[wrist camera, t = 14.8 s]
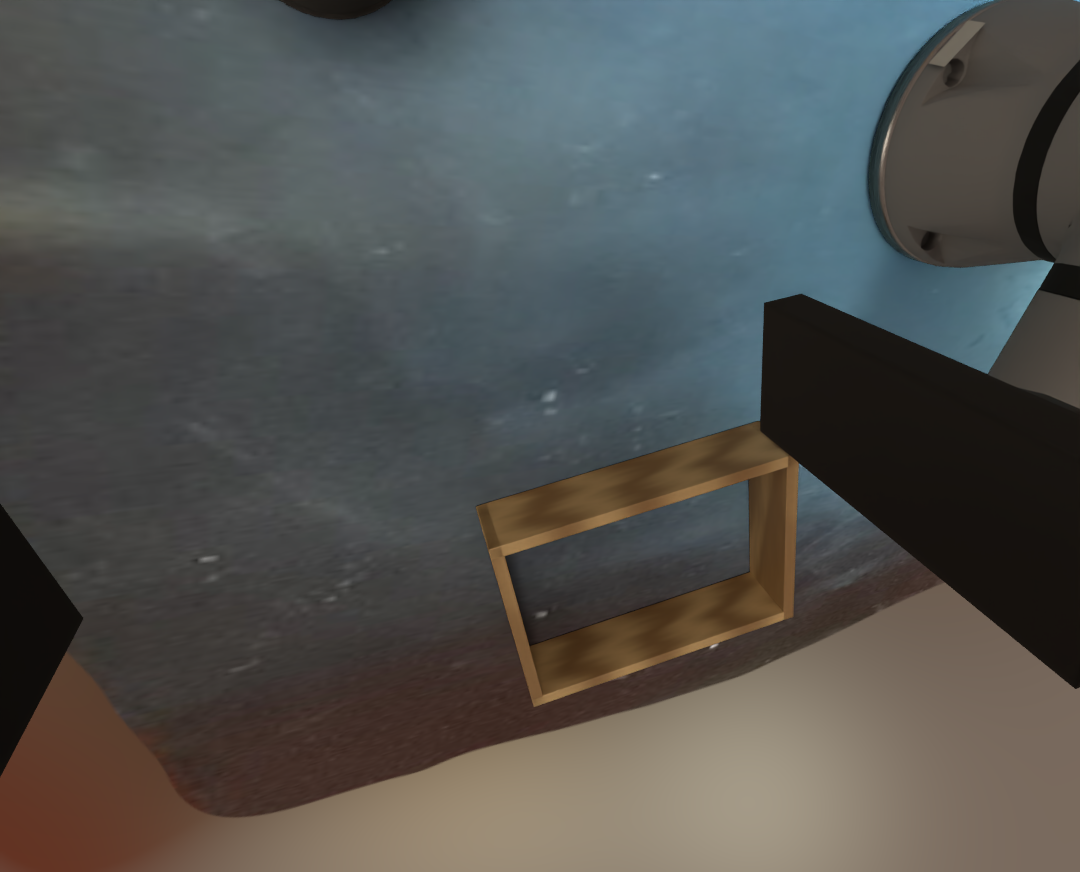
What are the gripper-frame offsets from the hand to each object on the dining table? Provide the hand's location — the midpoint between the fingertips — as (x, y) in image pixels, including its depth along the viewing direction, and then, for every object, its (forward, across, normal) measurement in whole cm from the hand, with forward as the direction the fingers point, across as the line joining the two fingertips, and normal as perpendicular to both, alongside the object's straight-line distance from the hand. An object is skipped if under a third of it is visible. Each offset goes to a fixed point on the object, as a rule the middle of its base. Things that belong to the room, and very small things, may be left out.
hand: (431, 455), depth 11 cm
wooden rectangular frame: (+26, +12, -27) cm, 40 cm away
